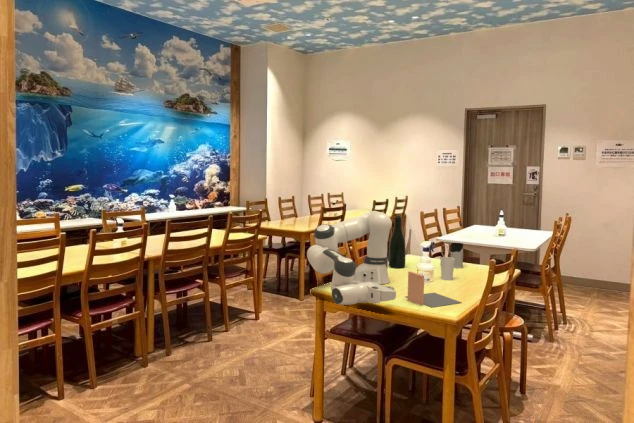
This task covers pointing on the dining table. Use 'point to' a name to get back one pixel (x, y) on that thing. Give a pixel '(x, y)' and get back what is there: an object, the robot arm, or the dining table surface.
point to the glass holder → (456, 254)
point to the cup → (447, 268)
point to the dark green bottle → (397, 246)
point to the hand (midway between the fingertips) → (392, 288)
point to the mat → (437, 300)
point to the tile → (416, 288)
